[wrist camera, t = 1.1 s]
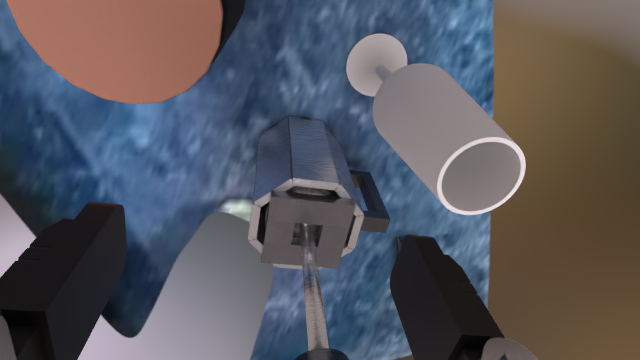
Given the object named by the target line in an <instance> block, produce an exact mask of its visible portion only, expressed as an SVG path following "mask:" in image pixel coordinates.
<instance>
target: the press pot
mask: <svg viewBox="0 0 640 360" xmlns="http://www.w3.org/2000/svg"><path fill="white" fill-rule="evenodd" d="M293 186H301V187H310V188H319V189H327V190H332V191H333V192H335V194H336V195H337V196H338V197H330V196H321V195H312V194H303V193H294V192H285V191H287V190H288V189H290V188H291V187H293ZM355 187H357V188H360V190H361V192H362V195H363V198H364V201H365V203H366V206H367V209H368V211H363V210H362V207H361V204H360V201H359V198H358V195H357V192H356V189H355ZM269 201H270V202H269ZM268 203H269V208H268V215H267V221H266V226H265V212H266V208H267V205H268ZM389 222H390V218H389V215H388V213H387V211H386V208H385V206H384V204H383V201H382V199H381V197H380V194H379V192H378V190H377V188H376V185H375V183H374V181H373V178H372V176H371V174H370V172H362V171H354V170H349V168H348V165H347V162H346V160H345V157H344V154H343V151H342V148H341V145H340V144H339V142H338V141H337V140H336V138H335V137H334V135H333V133H332V132H331V131H330V130H329V129H328V127H327V126H326V124H325V123H324V122H322V120H315V119H309V118H303V117H295V116H289V118H288V116H287V117H285V118H284V119H282V120H281V121H279V122H278V123H276V124H274V125H273V126H272V127H270V128H269V129H268V130H266V131H265V132H263V133H262V134H261V135H260V137H259V145H258V150H257V162H256V170H255V180H254V189H253V198H252V208H251V217H250V227H249V236H248V240H249V242H250V243H251V244H252V245H253V246H254V247H255V248H256V249H257V250H258V251H259V252H260V253H261V262H262V263H272V264H273V265H274V266H277V267H280V268H293V269H302V257H301V244H300V238H292V236H293V231H294V226H295V223H304V224H314V225H320V229H319V233H318V237H317V240H315V247H316V255H317V263H318V269H319V270H320V269H321V268H323V267H324V268H337V269H338V266H339V262H340V259H341V257H342V256H344V255H346V254H348V253H349V252H351V251H353V249H354V248H355V245H356V241H357V238H358V235H359V232H360V230H362V231H373V232H383V233H386V230H387V227H388V224H389Z"/></svg>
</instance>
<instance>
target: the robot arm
mask: <svg viewBox="0 0 640 360" xmlns="http://www.w3.org/2000/svg"><path fill="white" fill-rule="evenodd" d="M126 257H127V242H126V228H125V214H124V208H123V206H122V205H118V204H109V203H99V202H89V203H87V204H86V206H85V207H84V208H83V209H82V211H81V212H80V213H79V214H78V215H77V217H76V218H75V219H74V220H73V219H62V220H60V221H59V222H57V223H55V224H53V225H52V226H50V227H48V228H46V229H45V230H43V231H42V232H41V233H40V234H39V236H38V237H37V238H36V239H35V240H34V241H33V242H32V243H31V244H30V248H27V249H26V250H25V251H24V252H23V253H22V254H21V256H20V257H19V259H18V261H15V262H14V263H13V264H12V266H11V267H10V268H9V269H8V270H7V271H6V272H5V273H4V274H3V276H2V277H1V278H0V360H77V359H78V357H79V355H80V353H81V351H82V350H83V347H84V346H85V344H86V342H87V340H88V338H89V336H90V334H91V332H92V330H93V328H94V326H95V324H96V322H97V321H98V319H99V317H100V315H101V313H102V311H103V309H104V307H105V305H106V303H107V301H108V299H109V297H110V295H111V293H112V292H113V290H114V288H115V286H116V284H117V282H118V280H119V278H120V276H121V274H122V272H123V269H124V266H125V262H126ZM390 289H391V293H392V296H393V299H394V302H395V305H396V308H397V311H398V314H399V317H400V320H401V322H402V325H403V328H404V331H405V334H406V337H407V340H408V343H409V346H410V349H411V351H412V354H413V357H414V360H538V359H537V358H536V357H535V356H534V355H533V354H532V353H531V352H530V351H529V350H528V349H526V348H525V347H523V346H522V345H520V344H518V343H517V342H514V341H512V340H509V339H506V338H505V337H504V336H503V334H502V333H501V331H500V329H499V328H498V326H497V324H496V323H495V321H494V319H493V318H492V316H491V315H490V313H489V311H488V310H487V308H486V306H485V305H484V303H483V301H482V300H481V298H480V297H479V296H477V292H476V290H475V288H474V287H473V285H472V284H470V280H469V279H468V277H467V275H466V274H465V272H464V270H463V269H462V267H461V266H460V265H458V264H457V263H456V262H455V261H454V260H453V259H452V258H451V257H450V256H449V255H444V254H443V252H442V250H441V249H440V247H439V245H438V244H437V242H436V240H435V239H434V238H433V237H428V236H418V235H407V236H406V237H405V238H404V240H403V243H402V246H401V248H400V251H399V254H398V256H397V259H396V262H395V264H394V267H393V270H392V273H391V277H390Z"/></svg>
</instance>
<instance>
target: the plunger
mask: <svg viewBox="0 0 640 360" xmlns="http://www.w3.org/2000/svg"><path fill="white" fill-rule="evenodd" d="M285 192H294V193H303V194H312V195H321V196H330V197H338V196H337V195H336V194H335V192H333V191H332V190H327V189H319V188H310V187H301V186H293V187H291V188H290V189H288V190H287V191H285ZM269 202H270V201H269ZM268 208H269V203H268V205H267V208H266V212H265V226H266V221H267V215H268ZM319 229H320V225H314V224H304V223H295V226H294V231H293V236H292V238H300V244H301V257H302V270H303V282H304V295H305V308H306V320H307V333H308V346H309V351H307V352H305V353H303V354H301V355H300V356H298V357H297V358H296V359H295V360H349V359H348V357H347V356H346V355H345V354H344V353H342V352H341V351H338V350H335V349H329V347H328V339H327V332H326V324H325V316H324V309H323V301H322V293H321V286H320V278H319V270H318V263H317V255H316V247H315V240H317V237H318V233H319Z"/></svg>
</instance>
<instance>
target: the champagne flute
mask: <svg viewBox="0 0 640 360" xmlns="http://www.w3.org/2000/svg"><path fill="white" fill-rule="evenodd" d="M346 71H347V76H348V79H349V82H350V83H351V85H352V86H353V87H354V89H355V90H357V91H358V92H359V93H361V94H364V95H367V96H375V98H374V102H373V120H374V123H375V126H376V128H377V130H378V132H379V133H380V135H381V136H382V137H383V138H384V139H385V140H386V141H387V142H388V143H389V145H390V146H391V147H392V148H393V149H394V150H395V151H396V152H397V153H398V155H399V156H400V157H401V158H402V159H403V160H404V161H405V162H406V163H407V165H408V166H409V167H410V168H411V169H412V170H413V171H414V172H415V174H416V175H417V176H418V177H419V178H420V179H421V180H422V181H423V182H424V184H425V185H426V186H427V187H428V188H429V189H430V190H431V191H432V192H433V194H434V195H435V196H436V197H437V198H438V199H439V200H440V201H441V202H442V204H443V205H444V206H445V207H446V208H448V209H449V210H451V211H452V212H455V213H458V214H463V215H476V214H481V213H485V212H487V211H490V210H492V209H494V208H496V207H498V206H500V205H501V204H503V203H504V202H505V201H507V200H508V199H509V198H510V197H511V196H512V195H513V194H514V193H515V191H516V190H517V189H518V187H519V185H520V184H521V182H522V179H523V177H524V174H525V167H526V164H525V158H524V155H523V152H522V151H521V149H520V148H519V146H518V145H517V144H516V143H515V142H514V141H513V140H512V139H511V138H510V137H509V136H508V135H507V134H506V133H505V132H504V131H503V130H502V129H501V128H500V127H499V126H498V125H497V124H496V123H495V122H494V121H493V120H492V118H491V117H490V116H489V115H488V114H487V113H486V112H485V111H484V110H483V109H482V108H481V107H480V106H479V105H478V104H477V103H476V102H475V101H474V100H473V99H472V98H471V97H470V96H469V95H468V94H467V93H466V92H465V91H464V89H463V88H462V87H461V86H460V85H459V84H458V83H457V82H456V81H455V80H454V79H453V78H452V77H451V76H450V75H449V74H448V73H447V72H445V71H444V70H443V69H441V68H439V67H437V66H435V65H431V64H425V63H416V64H411V65H407V55H406V51H405V49H404V47H403V45H402V44H401V43H400V42H399V41H398V40H397V39H396V38H394V37H392V36H390V35H387V34H373V35H369V36H367V37H365V38H363V39H362V40H360V41H359V42H358V43H357V44H356V45H355V46H354V47H353V49H352V50H351V52H350V54H349V56H348V60H347V66H346Z"/></svg>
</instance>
